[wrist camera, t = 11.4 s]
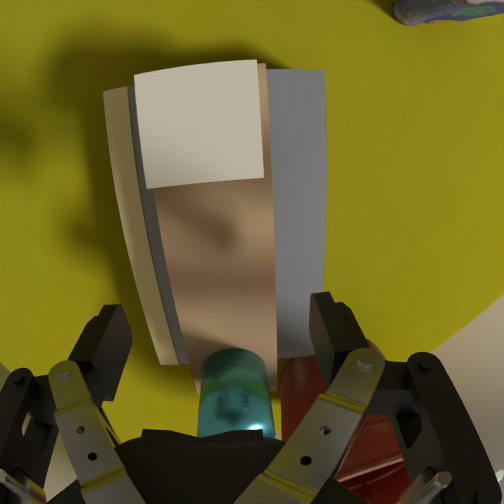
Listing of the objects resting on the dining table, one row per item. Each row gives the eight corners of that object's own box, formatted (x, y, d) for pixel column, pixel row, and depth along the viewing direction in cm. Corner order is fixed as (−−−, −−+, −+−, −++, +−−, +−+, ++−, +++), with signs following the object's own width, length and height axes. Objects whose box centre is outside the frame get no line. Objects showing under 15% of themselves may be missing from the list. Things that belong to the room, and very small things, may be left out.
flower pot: (396, 295, 29) (478, 420, 14) (399, 388, 35) (442, 486, 21) (239, 347, 30) (244, 499, 16) (282, 426, 37) (296, 533, 23)
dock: (129, 94, 20) (102, 91, 15) (305, 78, 20) (324, 69, 15) (170, 327, 29) (160, 364, 24) (306, 318, 29) (317, 355, 24)
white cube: (161, 84, 12) (134, 75, 8) (251, 74, 12) (256, 59, 8) (170, 168, 14) (146, 188, 10) (256, 160, 14) (264, 177, 10)
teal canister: (196, 350, 18) (189, 418, 14) (265, 345, 18) (274, 412, 14) (207, 392, 20) (205, 455, 15) (267, 388, 20) (276, 450, 16)
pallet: (161, 84, 15) (141, 77, 12) (259, 74, 16) (265, 63, 12) (202, 357, 24) (198, 395, 20) (272, 353, 24) (277, 390, 20)
